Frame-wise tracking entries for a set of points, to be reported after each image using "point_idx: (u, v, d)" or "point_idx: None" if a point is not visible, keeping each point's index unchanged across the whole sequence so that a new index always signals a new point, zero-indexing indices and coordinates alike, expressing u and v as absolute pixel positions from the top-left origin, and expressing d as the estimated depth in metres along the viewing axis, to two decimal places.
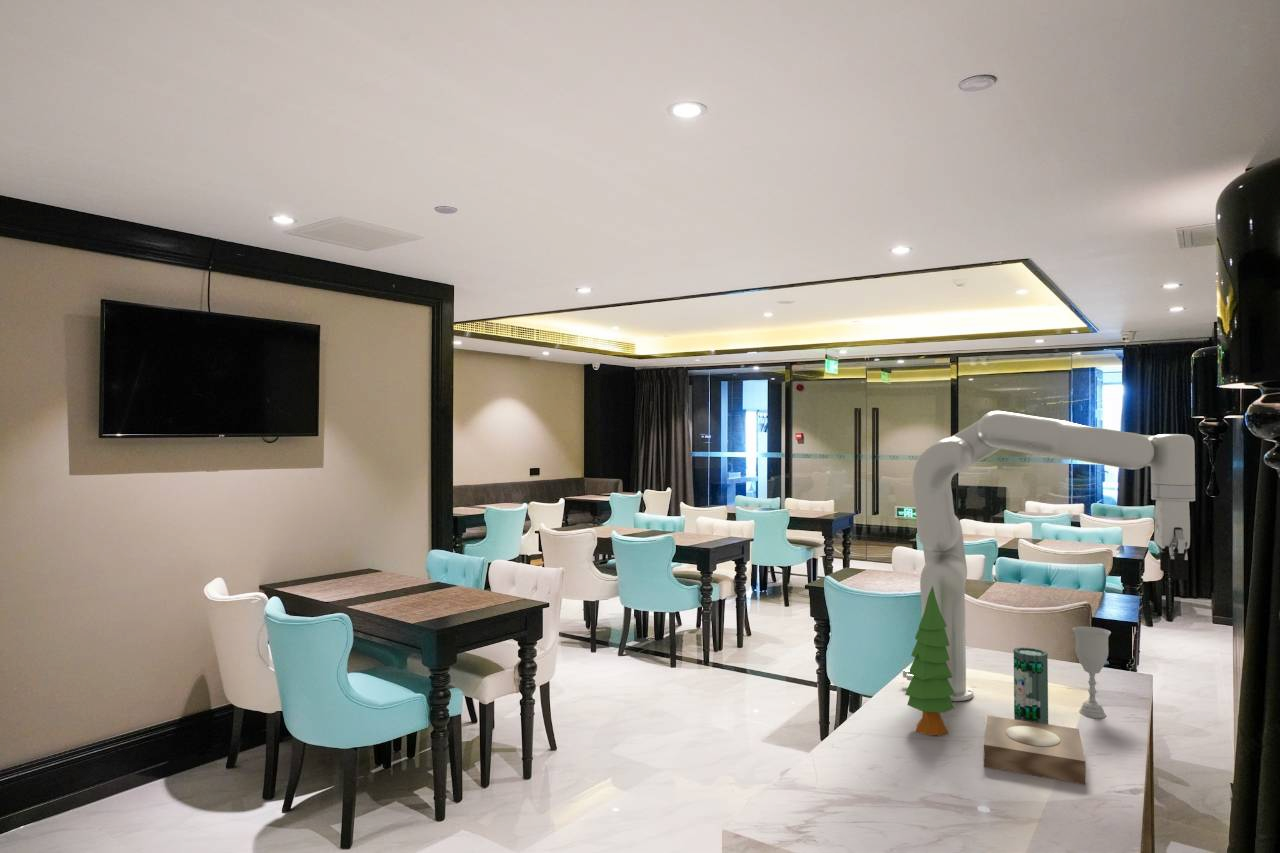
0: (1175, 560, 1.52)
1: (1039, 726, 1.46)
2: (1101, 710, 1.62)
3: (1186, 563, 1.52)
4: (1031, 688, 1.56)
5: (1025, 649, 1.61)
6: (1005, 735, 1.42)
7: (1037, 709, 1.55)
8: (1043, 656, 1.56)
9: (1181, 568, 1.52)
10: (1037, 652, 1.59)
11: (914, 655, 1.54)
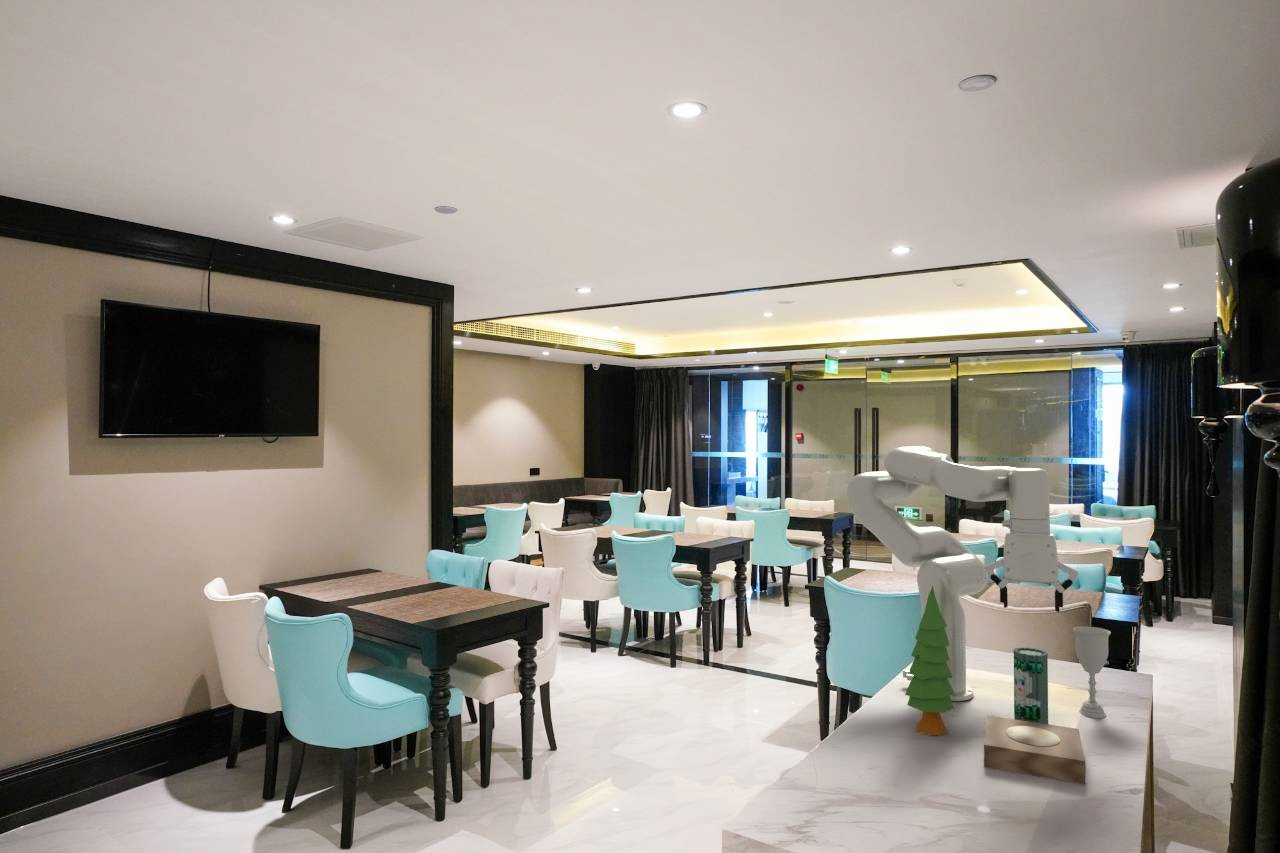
0: (1062, 592, 1.55)
1: (1039, 726, 1.46)
2: (1101, 710, 1.62)
3: None
4: (1031, 688, 1.56)
5: (1025, 649, 1.61)
6: (1005, 735, 1.42)
7: (1037, 709, 1.55)
8: (1043, 656, 1.56)
9: None
10: (1037, 652, 1.59)
11: (914, 655, 1.54)
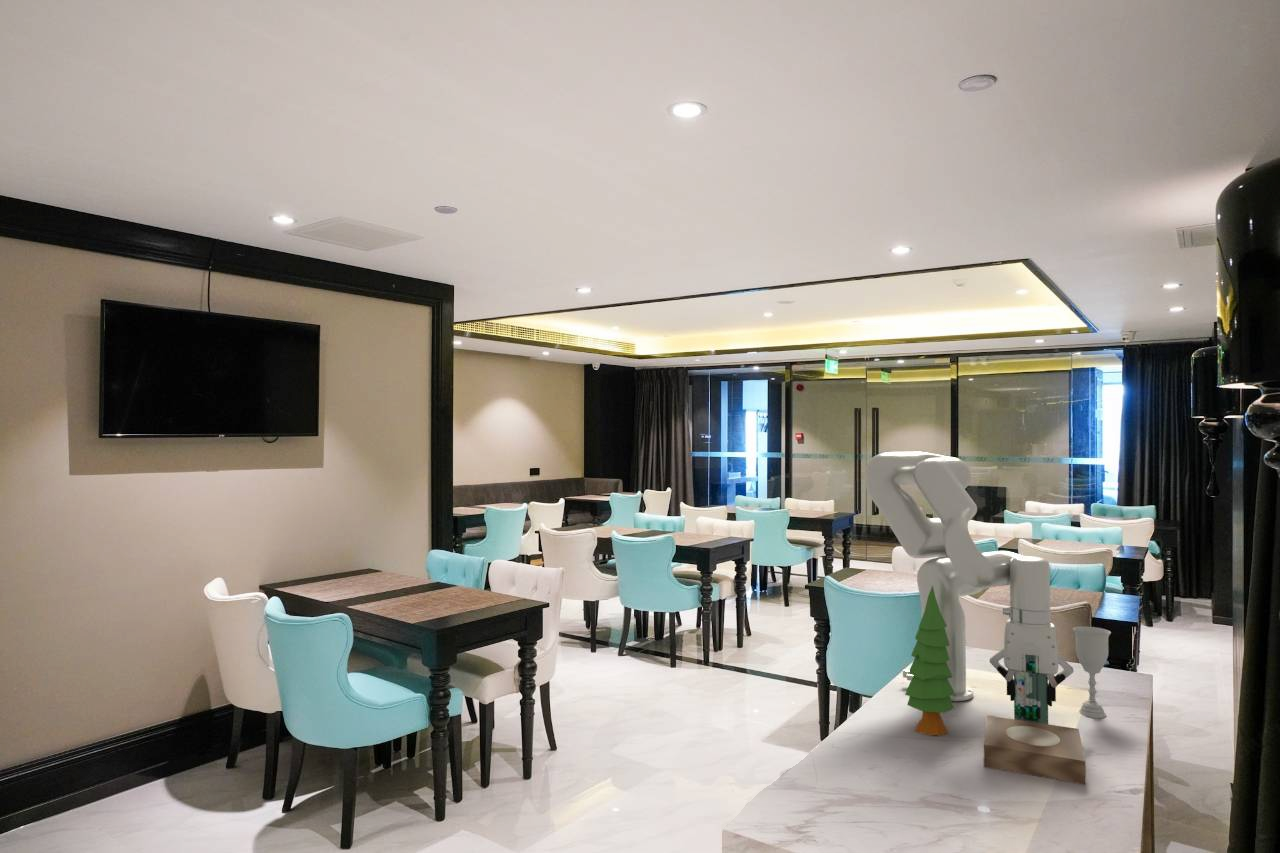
0: (1055, 687, 1.56)
1: (1039, 726, 1.46)
2: (1101, 710, 1.62)
3: None
4: (1031, 688, 1.56)
5: None
6: (1005, 735, 1.42)
7: (1037, 709, 1.55)
8: None
9: None
10: None
11: (914, 655, 1.54)
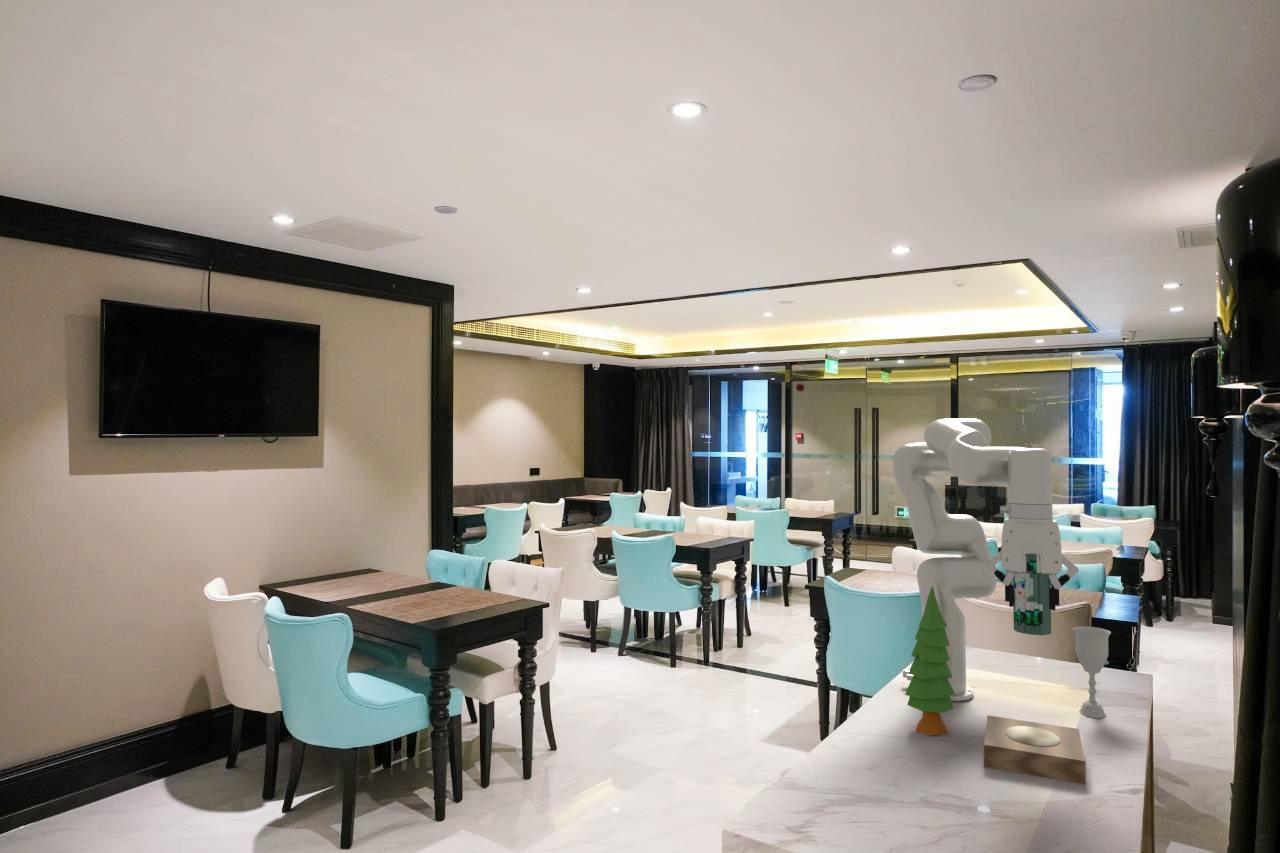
0: None
1: (1039, 726, 1.46)
2: (1101, 710, 1.62)
3: None
4: (1032, 590, 1.41)
5: None
6: (1005, 735, 1.42)
7: (1039, 613, 1.40)
8: None
9: None
10: None
11: (914, 655, 1.54)
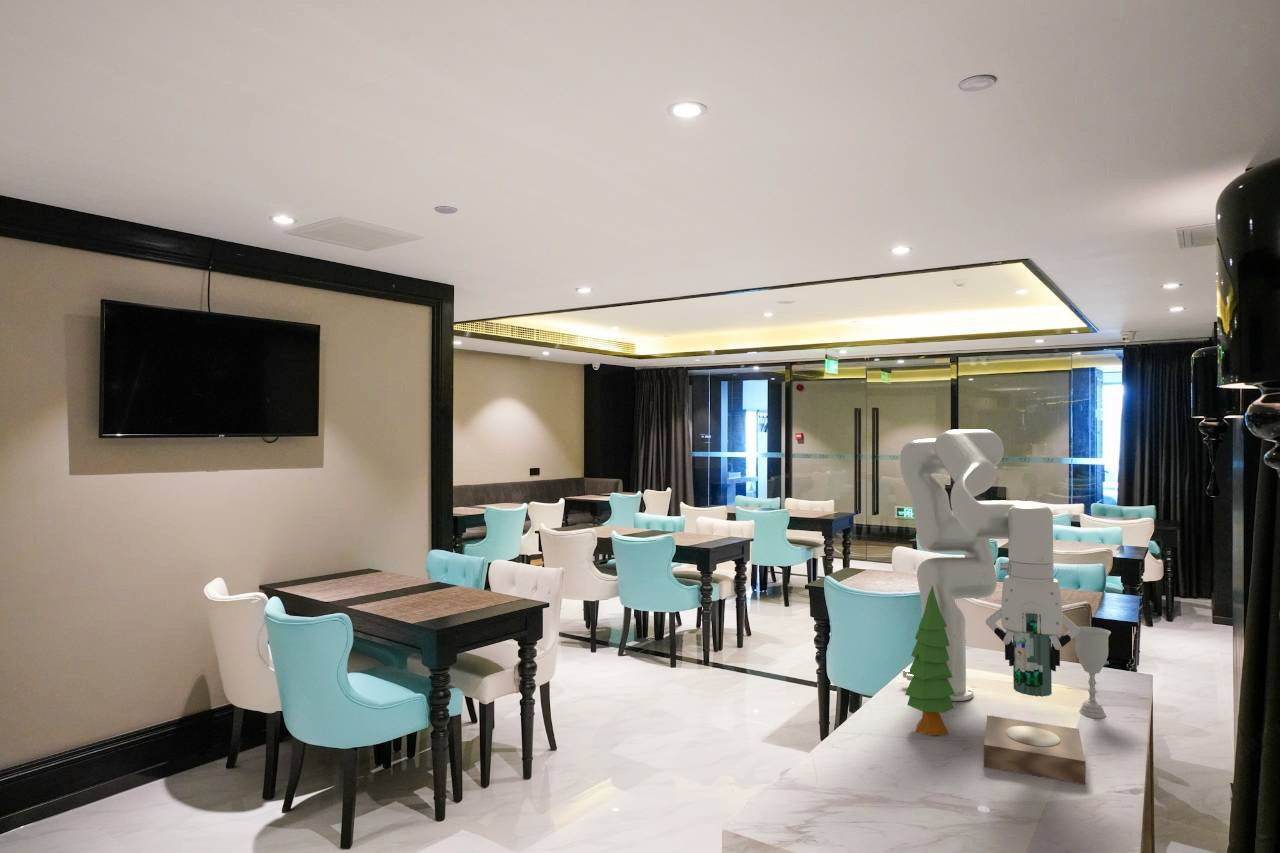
0: (1059, 649, 1.39)
1: (1039, 726, 1.46)
2: (1101, 710, 1.62)
3: None
4: (1033, 651, 1.39)
5: None
6: (1005, 735, 1.42)
7: (1039, 674, 1.38)
8: None
9: None
10: None
11: (914, 655, 1.54)
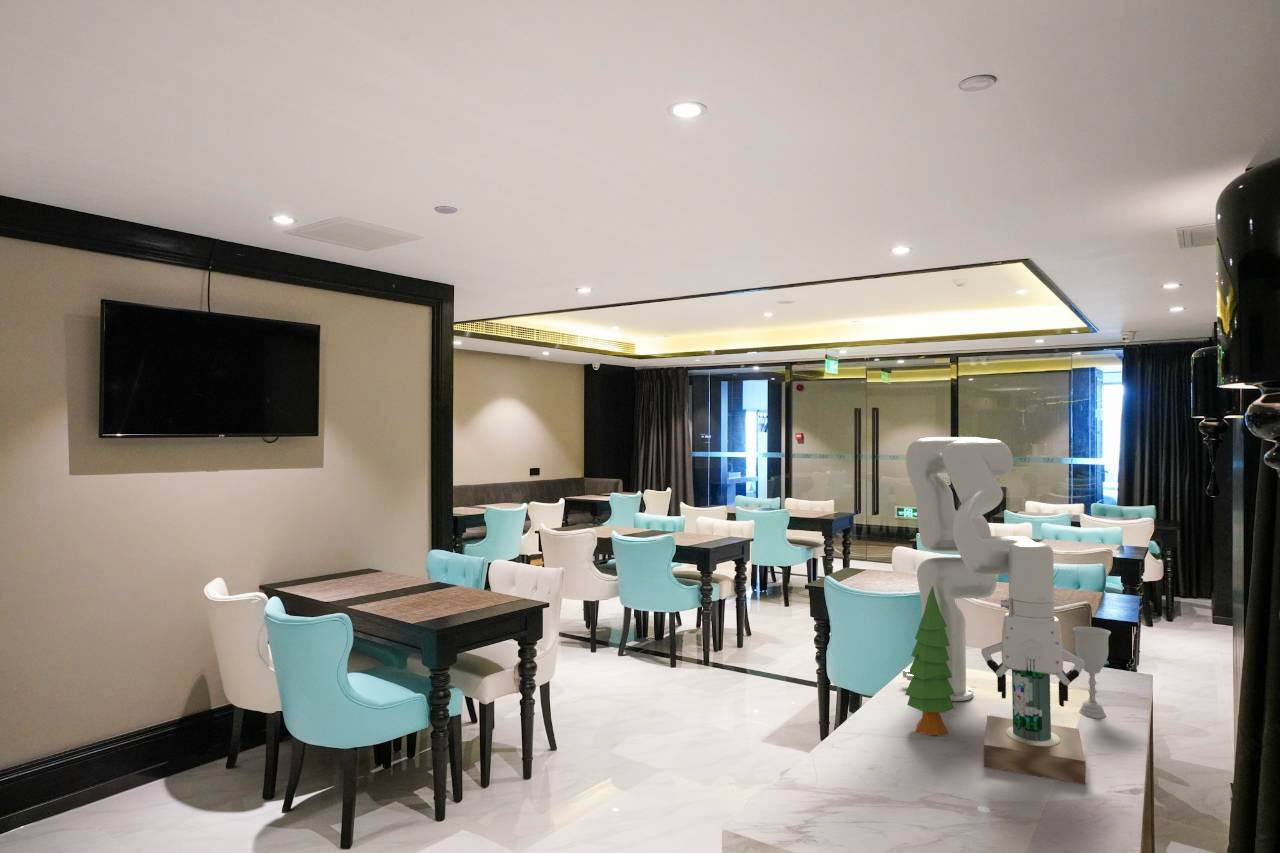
0: (1067, 684, 1.38)
1: None
2: (1101, 710, 1.62)
3: None
4: (1032, 695, 1.39)
5: None
6: (1005, 735, 1.42)
7: (1039, 719, 1.39)
8: None
9: None
10: None
11: (914, 655, 1.54)
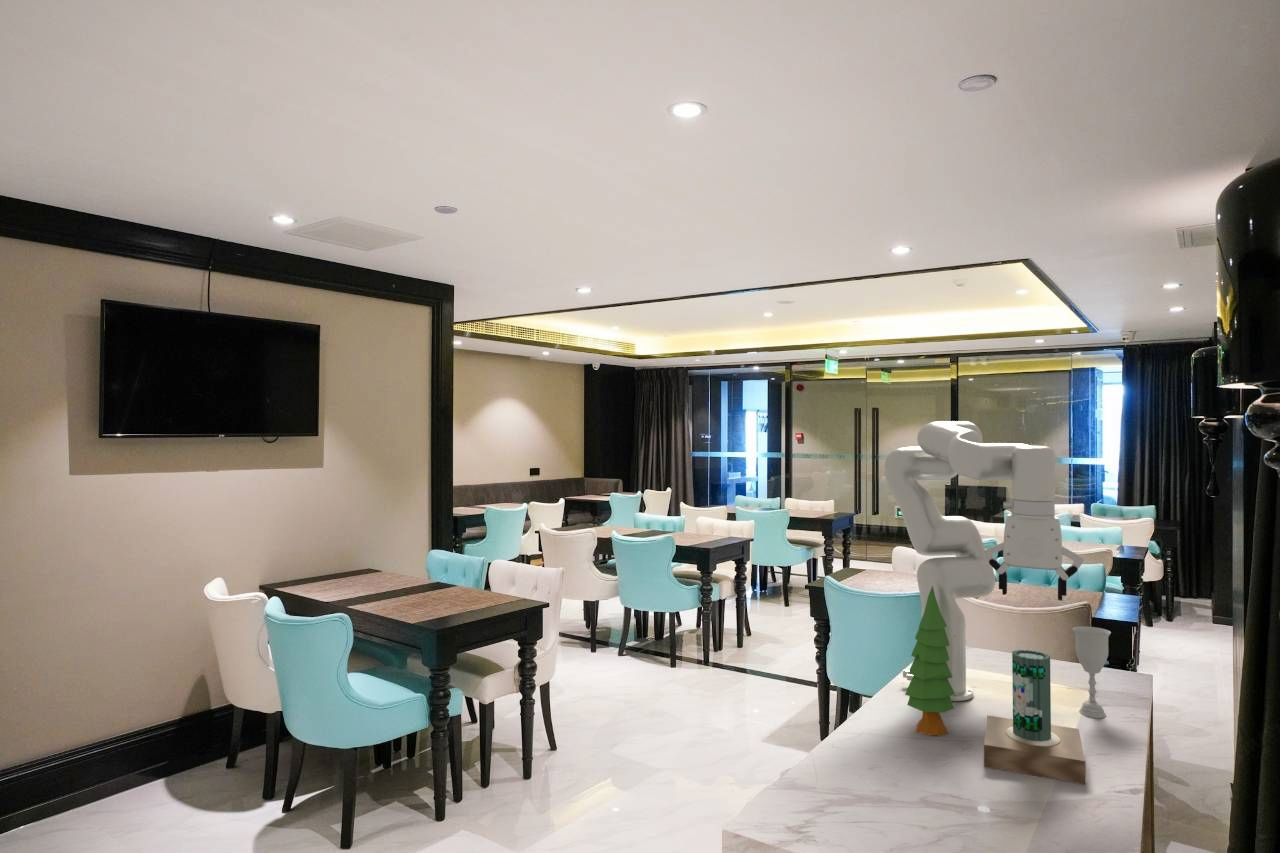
0: (1066, 580, 1.44)
1: None
2: (1101, 710, 1.62)
3: None
4: (1032, 696, 1.39)
5: (1025, 652, 1.44)
6: (1005, 735, 1.42)
7: (1039, 719, 1.39)
8: (1045, 660, 1.39)
9: None
10: (1038, 655, 1.42)
11: (914, 655, 1.54)
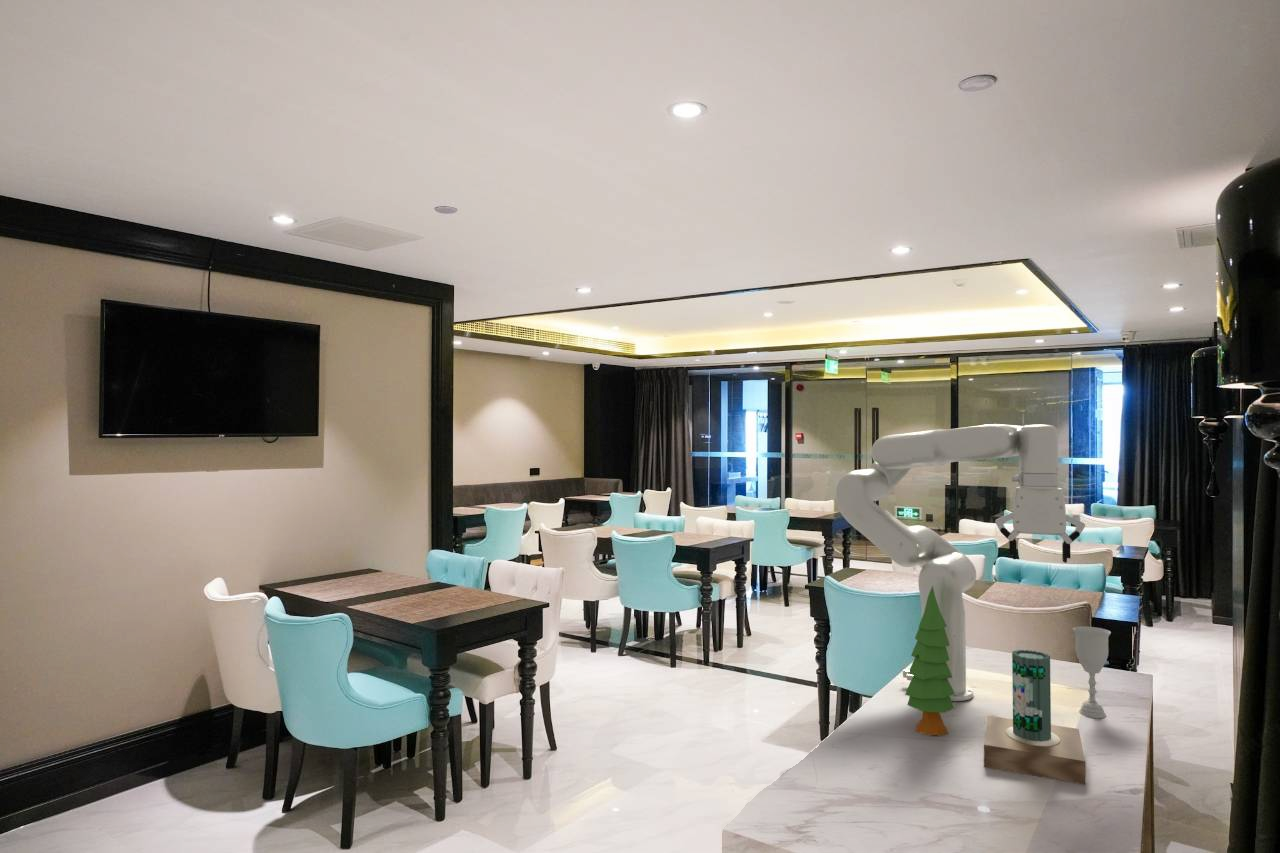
0: None
1: None
2: (1101, 710, 1.62)
3: None
4: (1032, 696, 1.39)
5: (1025, 652, 1.44)
6: (1005, 735, 1.42)
7: (1039, 719, 1.39)
8: (1045, 660, 1.39)
9: None
10: (1038, 655, 1.42)
11: (914, 655, 1.54)
